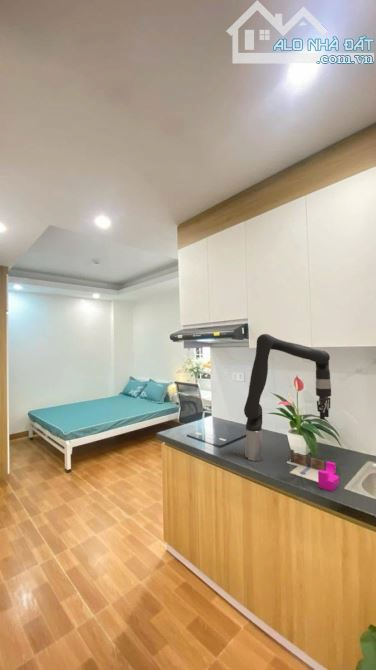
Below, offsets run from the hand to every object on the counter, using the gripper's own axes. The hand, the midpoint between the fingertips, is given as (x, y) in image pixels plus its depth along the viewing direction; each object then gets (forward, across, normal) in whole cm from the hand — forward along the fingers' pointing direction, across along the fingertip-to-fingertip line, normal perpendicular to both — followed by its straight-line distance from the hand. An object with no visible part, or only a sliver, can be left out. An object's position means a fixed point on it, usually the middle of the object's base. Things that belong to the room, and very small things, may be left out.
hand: (324, 418), depth 151 cm
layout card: (+27, +10, -8) cm, 30 cm away
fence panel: (+27, +4, -2) cm, 27 cm away
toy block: (+28, +14, +7) cm, 32 cm away
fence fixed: (+27, +5, -12) cm, 30 cm away
